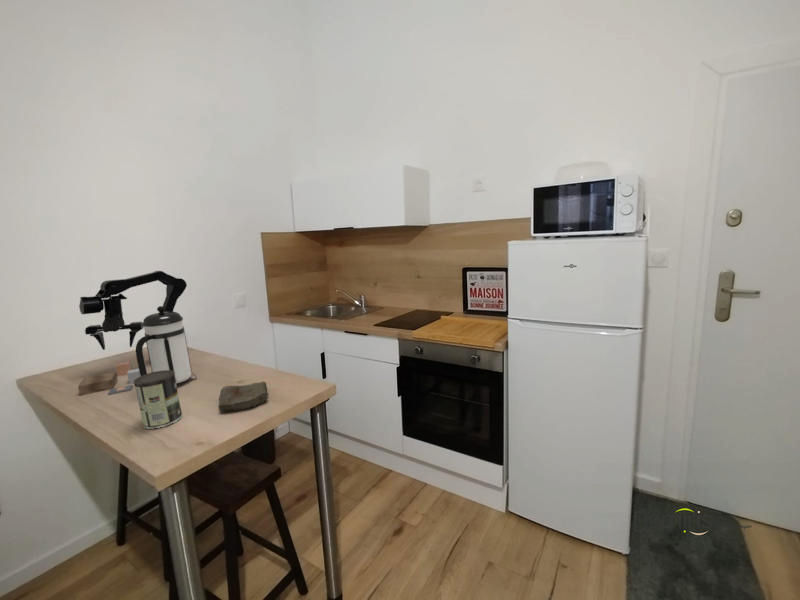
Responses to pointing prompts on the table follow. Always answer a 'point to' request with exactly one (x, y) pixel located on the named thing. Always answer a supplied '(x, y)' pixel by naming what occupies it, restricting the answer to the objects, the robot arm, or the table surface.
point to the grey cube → (133, 375)
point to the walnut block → (98, 383)
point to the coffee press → (165, 345)
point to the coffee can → (158, 399)
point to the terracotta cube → (123, 368)
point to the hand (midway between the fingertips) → (117, 348)
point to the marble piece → (242, 396)
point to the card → (120, 389)
